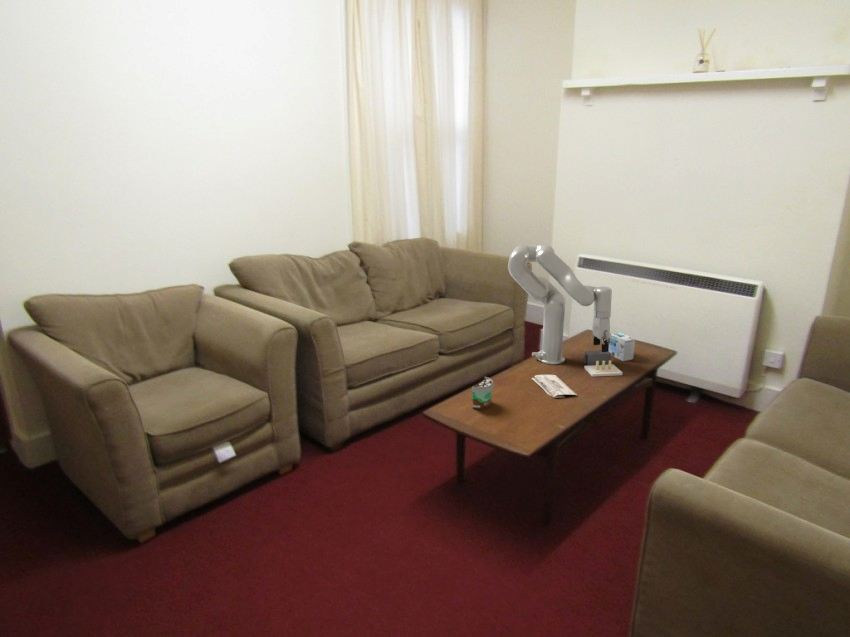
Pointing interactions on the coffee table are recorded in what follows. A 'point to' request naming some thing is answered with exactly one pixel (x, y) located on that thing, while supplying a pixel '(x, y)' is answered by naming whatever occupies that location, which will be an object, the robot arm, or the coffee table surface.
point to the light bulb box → (621, 346)
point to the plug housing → (597, 357)
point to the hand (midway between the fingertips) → (600, 348)
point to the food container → (482, 394)
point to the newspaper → (553, 386)
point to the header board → (603, 369)
